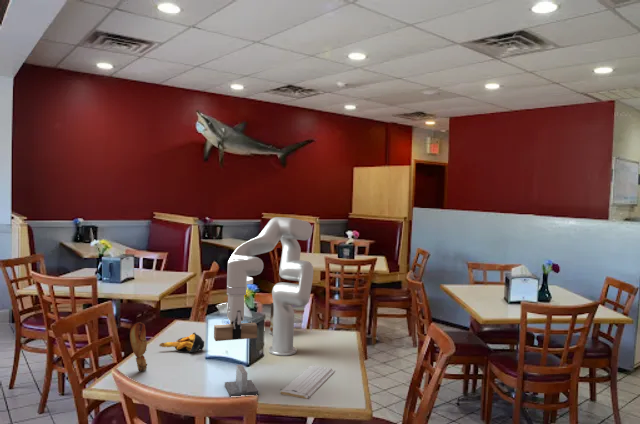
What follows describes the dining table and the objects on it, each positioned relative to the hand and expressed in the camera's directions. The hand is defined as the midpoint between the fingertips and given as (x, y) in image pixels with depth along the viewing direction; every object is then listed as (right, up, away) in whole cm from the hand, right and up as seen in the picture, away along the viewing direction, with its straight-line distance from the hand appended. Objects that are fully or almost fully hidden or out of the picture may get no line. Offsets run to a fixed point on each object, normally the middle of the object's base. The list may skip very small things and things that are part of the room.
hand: (235, 336), depth 197 cm
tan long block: (0, 0, 0) cm, 1 cm away
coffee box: (+12, -14, +62) cm, 65 cm away
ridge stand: (+4, -17, -12) cm, 21 cm away
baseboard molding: (+29, -18, -1) cm, 35 cm away
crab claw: (-38, -14, +3) cm, 41 cm away
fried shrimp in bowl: (-28, -14, +29) cm, 43 cm away
